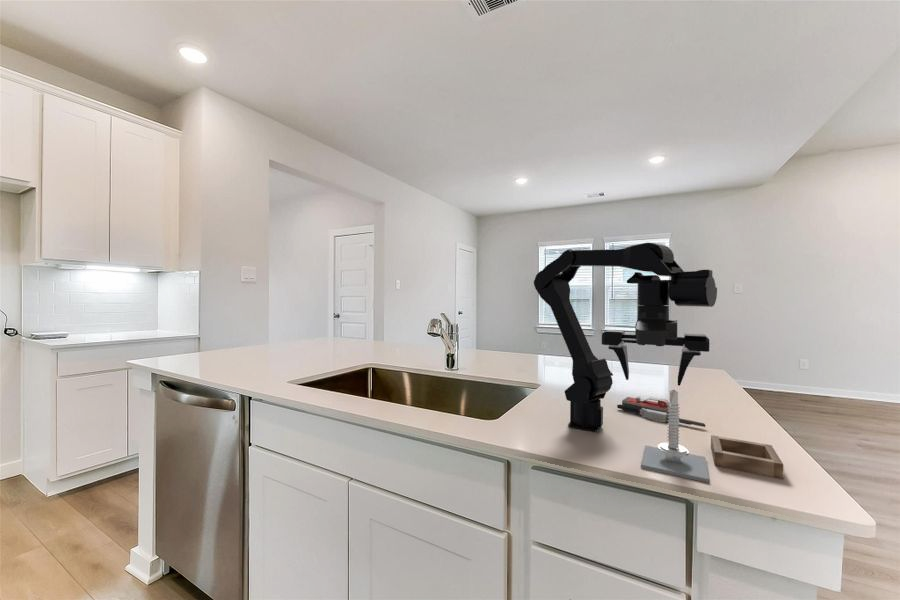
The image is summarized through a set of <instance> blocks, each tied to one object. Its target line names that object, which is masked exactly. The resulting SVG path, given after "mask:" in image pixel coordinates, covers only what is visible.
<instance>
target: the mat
mask: <svg viewBox="0 0 900 600" xmlns="http://www.w3.org/2000/svg"><path fill="white" fill-rule="evenodd" d="M640 469H645V470H648V471H654V472H657V473H658V472H659V473H662V474H667V475H671V476H676V477H681V478H685V479H690V480H695V481H699V482H703V483H708V484H709V483H710V476H709V470H708V464H707V459H706V456H703V455H696V454H692V453H689V454H688V455H687V456H683V457H681V463H672V462H669V461H667V460H665V454H664V453H663V452H661V451H660V450H659V449H658V446H650V445H646V444H645V445H644V450H643V453H642V458H641V463H640Z"/></svg>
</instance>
